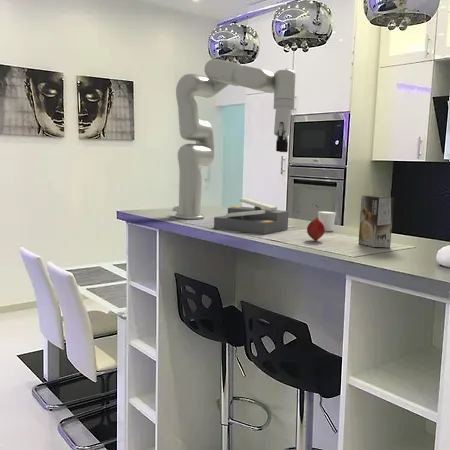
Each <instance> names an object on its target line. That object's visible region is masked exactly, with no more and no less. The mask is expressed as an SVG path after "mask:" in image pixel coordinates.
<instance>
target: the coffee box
mask: <svg viewBox="0 0 450 450" xmlns="http://www.w3.org/2000/svg"><path fill="white" fill-rule="evenodd" d="M360 198H361V199H360V201H361V202H360V212H359V213H360V215H359V228H358V231H359V232H358V244H359V243H360V244H359V245H363V244H364V246H367V245H368V246H367V247H371V246H372V247H371V248H374V247H385V248H391V242H392V232H393V217H394V216H393V215H394V204H395V197H392V196H383V195H371V194H369V195H361V197H360Z"/></svg>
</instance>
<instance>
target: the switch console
mask: <svg viewBox="0 0 450 450" xmlns="http://www.w3.org/2000/svg"><path fill="white" fill-rule="evenodd" d="M258 210H265V213H262V214H254V215H243V216H232V217H226V215H221V216H214V217H213V228H215V229H221V230H228V229H229V230H230V231H236V232H237V231H238V232H244V233H250V234H251V233H252V234H259V235H268V234H272V233H277V232H282V231H286V230H288V229H289V227H288V226H289V213H290V211H288V210H279V209H277V210H273V211H269V210H266V209H263V208H260V207H256V206H254V207H250V206H242V205H241V206H238V205H235V206H231V207H230V206H229V207H227V214H229V213H237V212H248V211H258ZM229 230H228V231H229Z"/></svg>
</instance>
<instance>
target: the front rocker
mask: <svg viewBox="0 0 450 450" xmlns="http://www.w3.org/2000/svg"><path fill="white" fill-rule="evenodd" d="M262 213H265V210H258V211H248V212H237V213H229V214H228V213H225V216H226V217H232V216H243V215H254V214H262Z"/></svg>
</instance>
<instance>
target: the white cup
mask: <svg viewBox="0 0 450 450" xmlns="http://www.w3.org/2000/svg"><path fill="white" fill-rule="evenodd" d="M336 214H337V213H336V212H335V211H327V210H325V211H324V210H321V211H318V212H317V217H318V218H319V221H321V222H322V223H323V225H324V228H325V232H332V231H334V227H335V220H336V216H337V215H336Z"/></svg>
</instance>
